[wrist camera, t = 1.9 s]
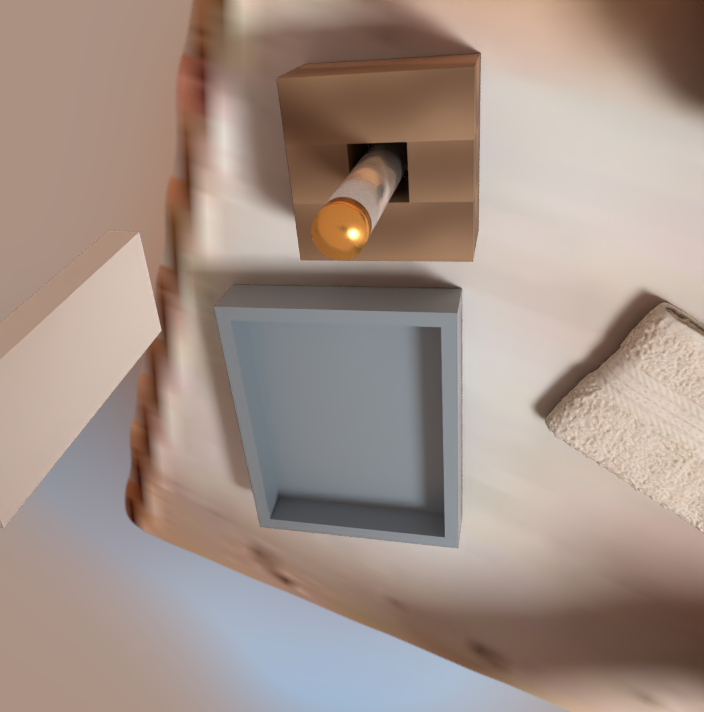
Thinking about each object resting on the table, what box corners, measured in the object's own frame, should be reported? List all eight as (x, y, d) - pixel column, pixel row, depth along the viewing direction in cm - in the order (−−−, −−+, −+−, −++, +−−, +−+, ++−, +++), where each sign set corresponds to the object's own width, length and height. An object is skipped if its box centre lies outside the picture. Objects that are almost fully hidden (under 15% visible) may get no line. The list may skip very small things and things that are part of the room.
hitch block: (478, 229, 41) (472, 261, 37) (322, 230, 43) (300, 260, 39) (480, 53, 36) (474, 66, 32) (304, 64, 38) (276, 78, 34)
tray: (462, 515, 53) (458, 548, 50) (273, 497, 57) (260, 526, 54) (462, 288, 43) (457, 313, 40) (233, 284, 47) (213, 306, 44)
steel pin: (415, 169, 40) (367, 260, 28) (375, 170, 40) (313, 260, 29) (413, 128, 39) (364, 205, 27) (373, 129, 39) (307, 206, 28)
